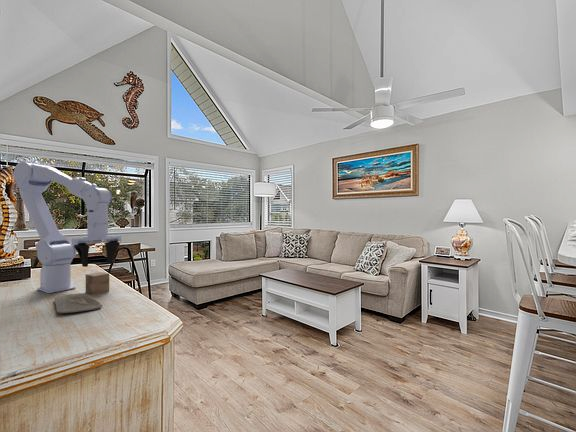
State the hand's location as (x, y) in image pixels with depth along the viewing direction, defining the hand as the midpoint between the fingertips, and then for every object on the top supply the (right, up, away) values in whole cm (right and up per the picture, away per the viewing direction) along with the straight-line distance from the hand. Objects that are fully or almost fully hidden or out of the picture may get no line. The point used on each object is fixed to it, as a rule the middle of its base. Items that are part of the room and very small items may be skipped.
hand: (97, 264), depth 100 cm
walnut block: (0, -9, 0) cm, 9 cm away
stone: (+3, -10, -14) cm, 18 cm away
